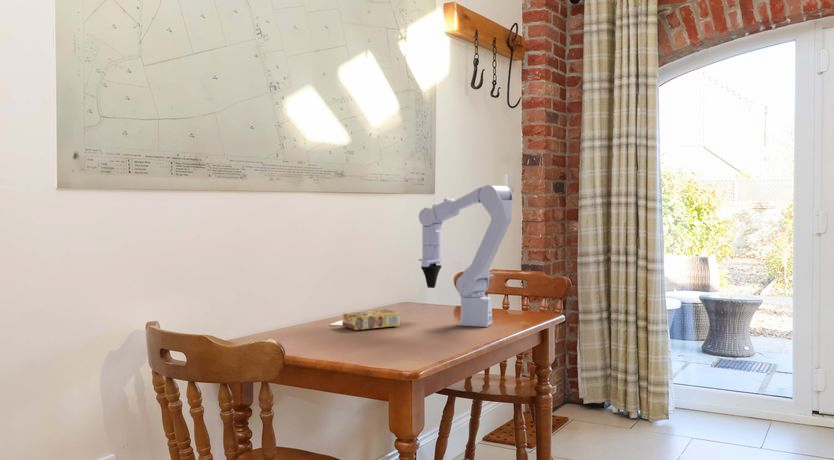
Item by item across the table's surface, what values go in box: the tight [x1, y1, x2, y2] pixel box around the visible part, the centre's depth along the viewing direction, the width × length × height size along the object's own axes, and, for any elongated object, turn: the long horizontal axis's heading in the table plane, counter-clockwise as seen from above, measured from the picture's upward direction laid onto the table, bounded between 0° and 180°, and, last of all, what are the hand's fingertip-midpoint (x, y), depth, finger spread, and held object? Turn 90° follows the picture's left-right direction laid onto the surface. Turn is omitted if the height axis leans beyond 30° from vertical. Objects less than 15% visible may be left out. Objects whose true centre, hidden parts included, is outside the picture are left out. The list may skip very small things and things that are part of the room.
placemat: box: [328, 319, 344, 327], centre depth 244 cm, size 14×16×1 cm
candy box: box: [341, 309, 401, 331], centre depth 235 cm, size 9×4×15 cm
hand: (431, 287), depth 250 cm, fingers closed
